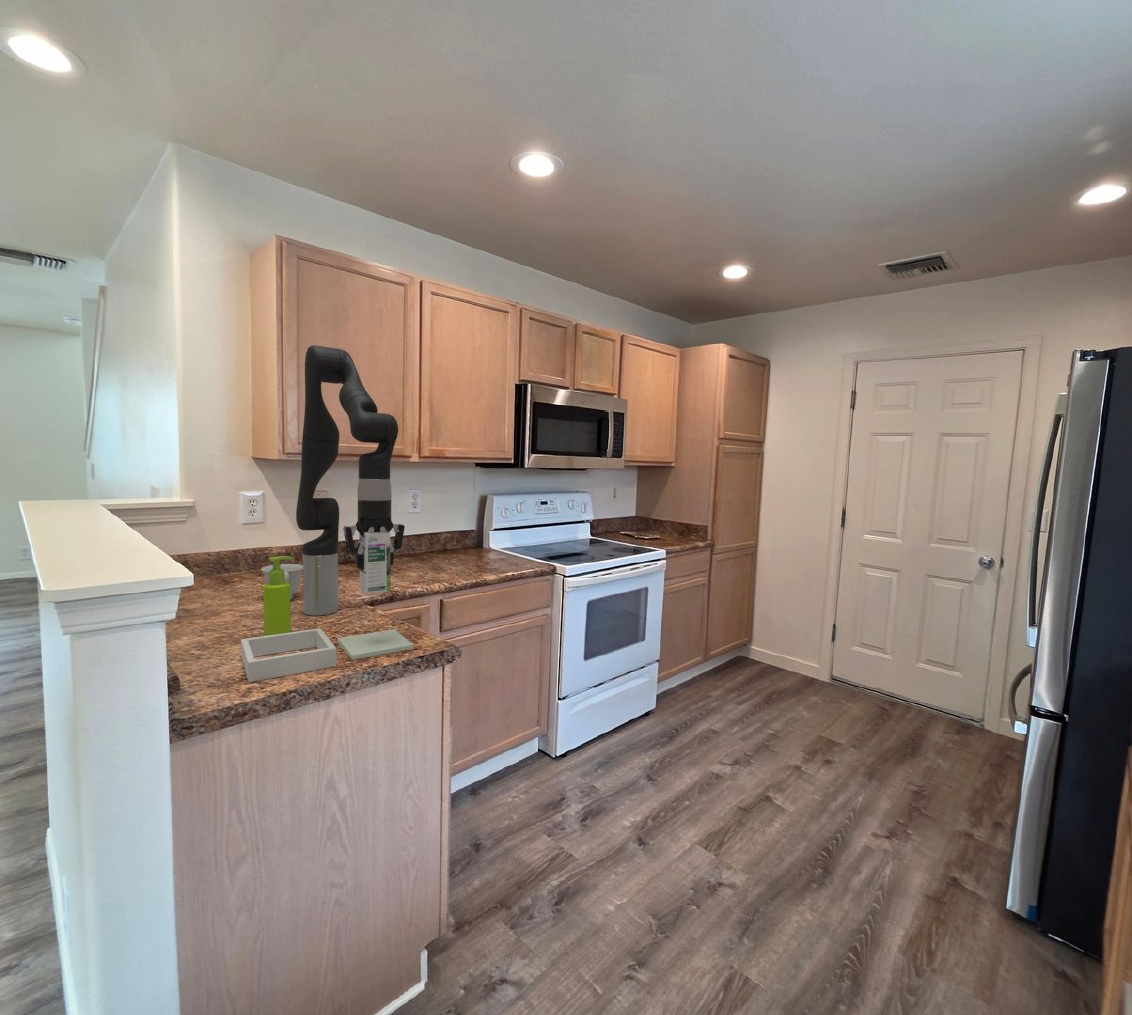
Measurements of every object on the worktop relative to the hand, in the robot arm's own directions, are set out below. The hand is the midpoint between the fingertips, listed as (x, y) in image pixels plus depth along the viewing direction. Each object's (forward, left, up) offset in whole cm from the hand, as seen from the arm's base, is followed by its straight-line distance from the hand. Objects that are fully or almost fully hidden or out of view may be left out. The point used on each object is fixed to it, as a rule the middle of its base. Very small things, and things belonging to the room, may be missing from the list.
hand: (374, 568), depth 129 cm
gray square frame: (+1, -19, -19) cm, 27 cm away
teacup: (-57, -12, -19) cm, 61 cm away
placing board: (0, 0, -19) cm, 19 cm away
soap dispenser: (-19, -18, -19) cm, 32 cm away
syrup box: (0, 0, -6) cm, 6 cm away
